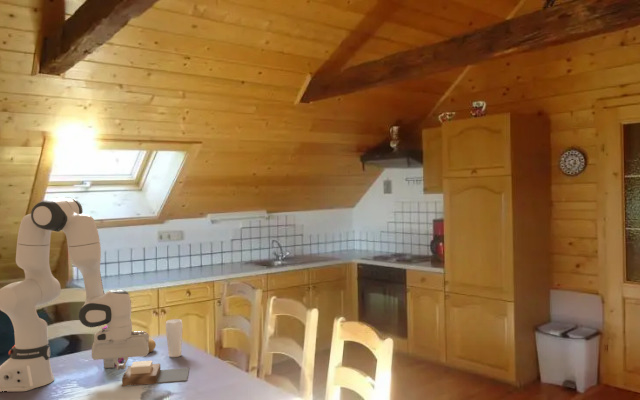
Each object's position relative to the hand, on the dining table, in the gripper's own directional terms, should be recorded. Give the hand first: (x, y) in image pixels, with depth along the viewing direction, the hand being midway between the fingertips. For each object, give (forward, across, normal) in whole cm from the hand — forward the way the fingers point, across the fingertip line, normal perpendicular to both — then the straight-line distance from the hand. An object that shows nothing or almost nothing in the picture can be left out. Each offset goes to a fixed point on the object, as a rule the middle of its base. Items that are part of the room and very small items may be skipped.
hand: (121, 369), depth 213 cm
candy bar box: (+4, +7, -21) cm, 22 cm away
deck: (+4, -7, 0) cm, 9 cm away
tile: (+1, -7, 0) cm, 7 cm away
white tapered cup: (+4, -17, -26) cm, 32 cm away
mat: (+4, -19, 0) cm, 19 cm away
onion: (+4, -4, -35) cm, 36 cm away
